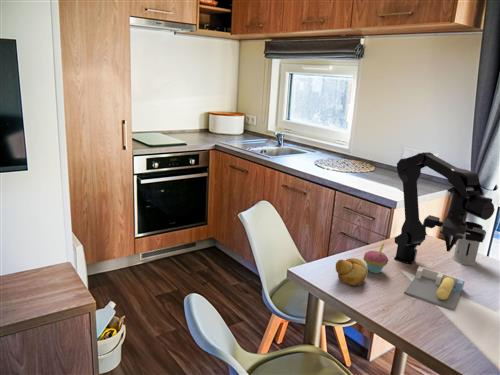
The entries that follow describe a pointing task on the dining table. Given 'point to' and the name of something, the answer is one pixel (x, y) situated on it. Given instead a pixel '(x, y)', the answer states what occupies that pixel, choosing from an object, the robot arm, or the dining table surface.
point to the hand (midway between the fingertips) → (448, 251)
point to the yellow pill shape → (445, 288)
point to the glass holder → (467, 247)
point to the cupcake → (375, 260)
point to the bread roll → (351, 271)
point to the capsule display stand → (434, 287)
